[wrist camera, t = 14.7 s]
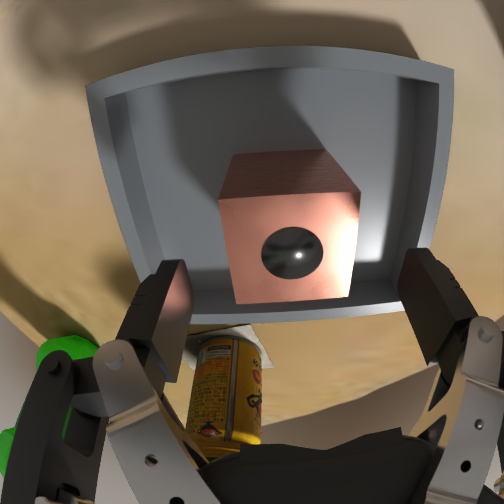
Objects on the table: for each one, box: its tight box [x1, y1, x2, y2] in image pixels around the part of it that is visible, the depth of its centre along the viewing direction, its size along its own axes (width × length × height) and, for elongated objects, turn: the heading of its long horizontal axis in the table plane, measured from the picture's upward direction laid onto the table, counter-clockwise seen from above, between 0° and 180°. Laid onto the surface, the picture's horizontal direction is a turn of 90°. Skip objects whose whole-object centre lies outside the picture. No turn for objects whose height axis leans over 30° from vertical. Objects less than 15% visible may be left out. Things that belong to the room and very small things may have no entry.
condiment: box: [182, 325, 274, 462], centre depth 21 cm, size 7×8×12 cm
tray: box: [85, 46, 454, 324], centre depth 15 cm, size 16×18×3 cm
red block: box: [218, 149, 361, 304], centre depth 13 cm, size 5×5×6 cm
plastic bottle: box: [0, 335, 99, 478], centre depth 17 cm, size 10×10×25 cm
